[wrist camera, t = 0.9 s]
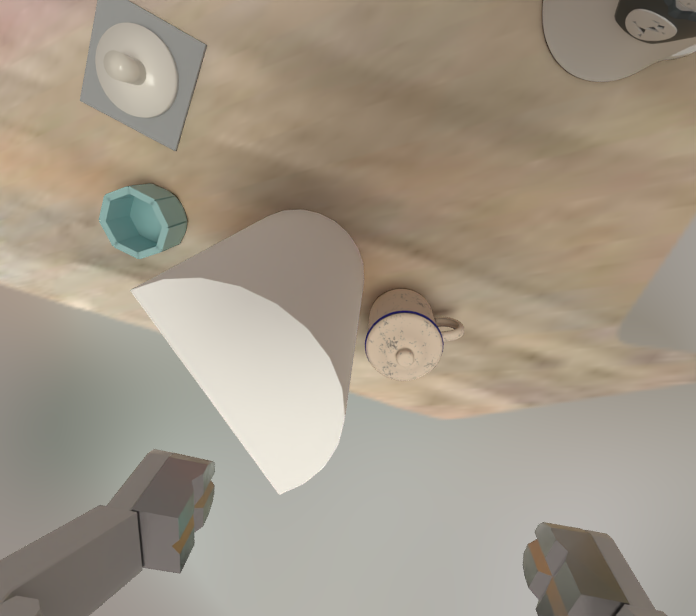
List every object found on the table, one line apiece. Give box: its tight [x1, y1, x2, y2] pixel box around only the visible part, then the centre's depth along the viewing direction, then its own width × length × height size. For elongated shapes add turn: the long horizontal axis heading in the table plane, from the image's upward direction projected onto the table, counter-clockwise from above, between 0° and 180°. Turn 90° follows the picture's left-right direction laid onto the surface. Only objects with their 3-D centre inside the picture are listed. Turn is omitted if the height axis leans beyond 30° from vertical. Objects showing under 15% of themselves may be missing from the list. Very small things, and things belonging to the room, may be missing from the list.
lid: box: [95, 22, 179, 118], centre depth 40 cm, size 9×9×4 cm
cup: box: [99, 183, 187, 259], centre depth 46 cm, size 8×8×5 cm
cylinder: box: [130, 209, 364, 494], centre depth 37 cm, size 17×17×28 cm
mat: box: [80, 0, 207, 151], centre depth 42 cm, size 12×12×1 cm
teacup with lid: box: [365, 289, 464, 381], centre depth 45 cm, size 12×9×12 cm
